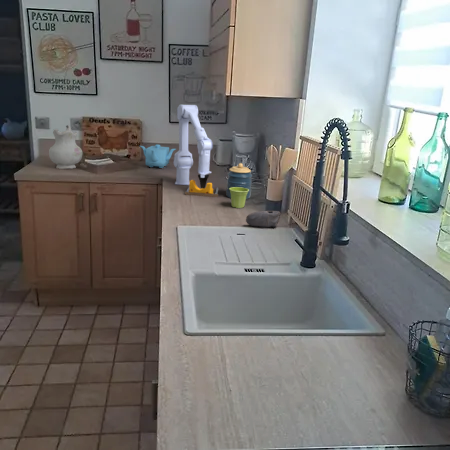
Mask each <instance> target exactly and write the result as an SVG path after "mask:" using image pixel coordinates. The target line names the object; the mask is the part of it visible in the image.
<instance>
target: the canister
mask: <svg viewBox="0 0 450 450" xmlns="http://www.w3.org/2000/svg"><path fill="white" fill-rule="evenodd" d="M228 169H229V172H227V173H226V174H227V176H228V177H227V179H226V191H225V194H226V197H227V198H229V199H231V193H230V190H229V188H232V187H242V188H246V189H249V191H248V193H247V196H246V200H249V199H250V198H251V194H252V192H251V191H252V190H251V189H252V181H253V180H252V177H253V174H252V173H251V172H252V170H251V169H249V167H247V166H244V164H243V163H242V162H239V163H238V165H236V166H234V165H233V166H232V167H230V168H228Z"/></svg>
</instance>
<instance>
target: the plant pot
mask: <svg viewBox="0 0 450 450" xmlns="http://www.w3.org/2000/svg"><path fill="white" fill-rule="evenodd" d="M229 190H230V193H231V198H230V201H231V207H232V208H236V209H242V208H244V207H245V204H246V200H247V199H246V196H247V193H248V191H249V189H246V188H242V187H232V188H229Z"/></svg>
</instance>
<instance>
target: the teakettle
mask: <svg viewBox="0 0 450 450" xmlns="http://www.w3.org/2000/svg"><path fill="white" fill-rule="evenodd" d="M139 147H140V148H141V149H142V150H143V155H144V157H145V166H147V167H153V168H154V167H158V169H159V168H165V167H164V166H166V167H167V165H168V164H170V159H171V158H172V154H173V153H174V151H176V150H177V148H171V149H170V147H169V146H161V144H155V145H151V146H148V147H147V148H146V147H145V146H144V145H139Z"/></svg>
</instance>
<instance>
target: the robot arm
mask: <svg viewBox="0 0 450 450" xmlns="http://www.w3.org/2000/svg"><path fill="white" fill-rule="evenodd" d="M176 111H177V112H176V113H177V114H176V117H177V120H178V136H179V137H178V150H177V152H175V153H174V157H173V166H174V167H175V168H176V177H175V179H176V181H175V182H174V185H178V186H179V185H182V186H183V185H184V186H189V181H190V169H191V168H192V167H193V165H194V159H193V153H191V152H190V150H189V122H190V124H191V125H192V127H193V129H194V131H193V133H194V134H193V135H194V137H195V139H196V141H197V144H196V146H197V152H198V168H197V173H198V175H197V178H198V179H199V185H200V189H202V188H206V185H207V181H208V179H209V177H210V175H209V174H212V171H210V165H211V164H210V162H211V151H213V148H214V143H213V140H212V139H211V138H209V137H208V135H207V132H206V131H205V128H204V127H202V125H201V123H200V119H199V107H198V106H197V104H182V103H181V104H179V105H178V107H177V108H176Z"/></svg>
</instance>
